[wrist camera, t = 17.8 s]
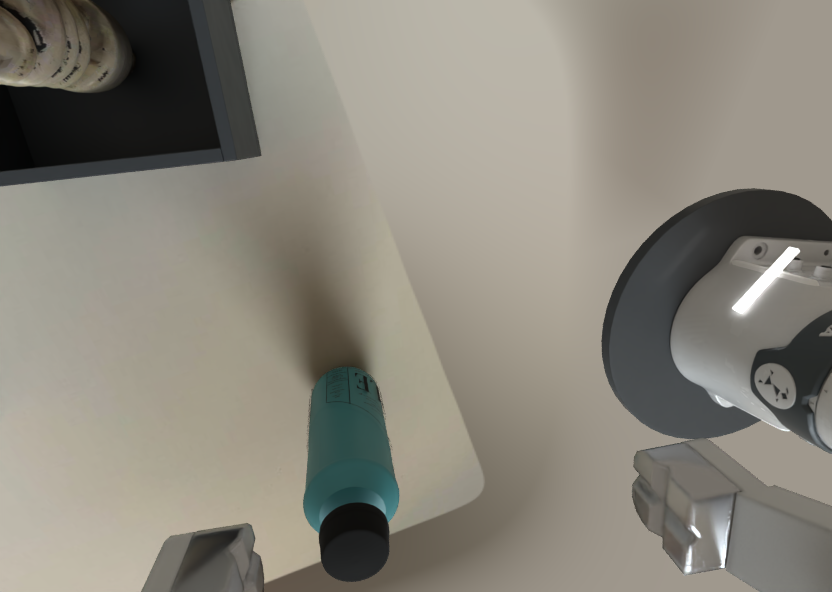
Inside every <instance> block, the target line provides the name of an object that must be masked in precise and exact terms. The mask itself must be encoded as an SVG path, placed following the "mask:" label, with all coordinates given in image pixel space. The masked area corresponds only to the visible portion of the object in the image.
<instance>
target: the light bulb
mask: <svg viewBox="0 0 832 592" xmlns="http://www.w3.org/2000/svg"><path fill="white" fill-rule="evenodd" d="M135 67H136V54H135V52H134V50H133V48H132V46H131V45H130V42H129V39H128V36H127V35H126V33H125V31H124V29H123V28H122V26H121V25H120V24H119V23H118V21H117V20H116V19H115V18H114V17H113V16H112V15H111V14H110V13H108V12H107V11H106V10H104V9H103V8H101V7H100V6H98V5H97V4H96V3H94V2H93V1H91V0H0V84H3V85H9V86H16V87H23V86H33V87H44V86H46V87H50V88H61V89H64V90H68V91H72V92H81V93H100V92H105V91H109V90H111V89H113V88H115V87H117V86H119V85H120V84H121V83H122V82H123V81H124V80H125V79H126V77H127V76H129V75H130V74H131V73H132V72H133V70H134V69H135Z"/></svg>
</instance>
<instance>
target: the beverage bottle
mask: <svg viewBox="0 0 832 592" xmlns="http://www.w3.org/2000/svg"><path fill="white" fill-rule="evenodd" d="M374 380H375V379H374ZM374 380H373V377H372V376H371V375H368V374H367V373H366V372H365V371H363V370H361V369H358V368H355V367H339V368H335V369H333V370H330V371H329V372H327V373H326V374H324V375H323V376H322V377H321V378H320V379H319V380H318V382H317V383H316V385H315V387H314V389H313V392H312V397H311V408H310V409H311V410H310V415H309V418H310V422H309V423H310V425H308V426H309V429H308V430H307V431H308V432H309V441H308V443H307V446H308V448H309V449H308V451H307V452H308V462H307V475H306V489H305V494H304V500H303V508H304V513H305V516H306V519H307V520H308V522H309V524H310V525H311V526H312V527H313V528H314V529H315V530H316V531H317V532H318V533H319V544H320V550H321V561H322V564H323V567H324V569H325V570H326V572H327V573H328V574H329V575H331V576H332V577H334V578H335V579H338V580H341V581H346V582H354V581H355V582H356V581H361V580H364V579H367V578H369V577H371V576H373V575H375V574H376V573H377V572H379V570H381V569H382V567H383V566H384V565H385V563H386V561H387V559H388V555H389V525H388V522H389V521H390V520H391V519H392V517H393V516H394V514H395V512H396V510H397V507H398V503H399V488H398V484H397V481H396V479H395V474H394V469H393V464H392V458H391V451H390V450H391V449H390V446H389V441H390V439H389V437H388V436H387V431H386V426H385V421H384V416H383V414H384V413H383V411H382V405H383V403H381V402H383V401H382V399H381V400H380V395H379V390H380V389H379V390H378V387H377V385H376V383H375V381H374ZM311 391H312V390H311ZM380 392H381V391H380ZM380 394H381V393H380ZM381 398H382V397H381ZM309 403H310V402H309ZM381 404H382V405H381ZM309 405H310V404H309ZM383 408H384V406H383ZM384 412H385V411H384ZM309 418H308V419H309ZM385 419H386V417H385ZM308 426H307V428H308ZM388 439H389V441H388ZM390 444H391V443H390ZM391 447H392V446H391Z"/></svg>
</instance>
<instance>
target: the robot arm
mask: <svg viewBox="0 0 832 592" xmlns="http://www.w3.org/2000/svg"><path fill="white" fill-rule="evenodd" d="M755 248H756V250H755ZM754 250H755V251H754ZM670 347H671V354H672V358H673V360H674V363H675V365H676V367H677V368H678V370H679V371H680V373H681V374H682V375H683V376H684V377H685V378H687V379H688V380H689V381H691V382H693V383H695V384H697V385H699V386H701V387H703V388H704V389H706V391H707V392H708V394H709V395H710V397H711V398H712V400H713V401H714V402H715V403H717V404H719V405H721V406H723V407H732V406H736V407H738V408H740V409H742V410H744V411H746V412H747V413H749V414H751V415H753V416H755V417H757V418H759V419H761V420H763V421H765V422H766V423H768V424H770V425H772V426H774V427H776V428H778V429H781V430H784V431H790V430H791V431H792V432H794V433H796V434H797V435H799V437H800V438H801V439H803V440H805V441H806V442H808V443H809V444H811V445H813V446H817V447H819V448H821V449H822V450H824V451H826V452H828V453H830V454H832V241H817V240H803V239H788V238H773V237H758V236H741V237H739V238H738V239H736V240H735V241H734V242H733V243H732V245H731V246H730V247H729V249H728V250H727V252H726V253H725V255H724V256H723V258H722V259H721V261H720V262H719V263H718V264H717V265H716V266H715V267H714V268H713V269H712V270H711V271H709V272H708V273H707V274H706V275H704V276H703V277H702V278H701V279H700V280H699V281H698V282H697V283H696V284H695V285H694V286H693V287H692V288H691V289H690V291H689V292H688V293H687V295H686V296H685V298H684V299H683V301H682V302H681V304H680V306H679V308H678V310H677V312H676V315H675V318H674V321H673V324H672V329H671V336H670ZM634 468H635V470H636V471H637V472H638V473H639V476H638V477H637V479H636V480H635V481H634V483H633V485H632V486H633V487H632V498H633V502H634V505H635V509H636V511H637V513H638V515H639V517H640V519H641V521H642V522H643V523H644V525H645V526H646V527H647V529H648V530H649V531H651V532H653V533H655V534H657V535H659V536H661V537H662V538H663V549H664V550H665V551H666V553H667V554H668V555H669V557H670V558H671V559H672V560H673V562H674V563H675V564H676V565H677V567H678V568H679V569H680V570H681V572H682V573H683V574H684V575H690V574H696V573H701V572H706V571H712V570H718V569H723V568H726V571H727V572H729V573H731V574H732V575H734V576H736V577H737V578H739V579H740V580H742V581H743V582H745V583H747V584H748V585H750V586H752V587H753V588H755V589H756V590H758V591H760V592H832V506H830V505H827V504H825V503H822V502H819V501H817V500H814V499H811V498H808V497H805V496H803V495H800V494H797V493H794V492H791V491H789V490H786V489H783V488H781V487H778V486H775V485H774V486H769V487H768V486H766V485H765V484H764V483H763V482H761V481H760V480H759V479H758V478H756V477H755V476H754V475H753V474H751V473H750V472H749V471H748V470H747V469H745V468H744V467H743V466H741V465H740V464H739V463H738V462H737V461H735V460H734V459H733V458H731V457H730V456H729V455H728V454H727V453H725V452H724V451H723V450H722V449H720V448H719V447H718V446H717V445H715V444H714V443H713V442H712V441H710V440H708V439H705V438H699V439H694V440H689V441H685V442H681V443H677V444H672V445H666V446H661V447H656V448H651V449H646V450H640V451H637V452H636V454H635V456H634ZM254 542H255V535H254V532H253V529H252V526H251V525H250V524H248V523H245V524H239V525H233V526H226V527H220V528H214V529H208V530H201V531H197V532H192V533H186V534H180V535H174V536H170V537H169V538H168V539H167V540H166V541H165V542H164V543H163V546H162V548H161V550H160V552H159V554H158V556H157V558H156V561H155V563H154V565H153V567H152V569H151V571H150V574H149V576H148V578H147V580H146V582H145V584H144V587H143V589H142V591H141V592H264V573H263V565H262V561H261V557H260V555H258V554H257V553H255V552H254V551H253V547H254Z"/></svg>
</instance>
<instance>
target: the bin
mask: <svg viewBox="0 0 832 592" xmlns="http://www.w3.org/2000/svg"><path fill="white" fill-rule="evenodd" d="M91 1H93V2H94V3H96V4H97V5H98V6H100V7H101V8H103V9H104V10H106V11H107V12H108V13H110V14H111V15H112V16H113V17H114V18H115V19H116V20H117V21H118V23H119V24H120V25H121V26H122V28H123V29H124V31H125V33H126V35H127V36H128V39H129V42H130V45H131V46H132V48H133V50H134V52H135V54H136V67H135V69H134V70H133V72H132V73H131V74H130V75H129V76H127V77H126V79H125V80H124V81H123V82H122V83H121V84H120V85H119V86H117V87H115V88H113V89H111V90H109V91H105V92H100V93H81V92H72V91H68V90H64V89H61V88H50V87H46V86H44V87H33V86H23V87H16V86H9V85H3V84H0V186H8V185H17V184H26V183H35V182H44V181H54V180H63V179H72V178H81V177H90V176H99V175H108V174H117V173H126V172H135V171H144V170H153V169H162V168H171V167H180V166H189V165H198V164H207V163H216V162H224V161H234V160H241V159H246V158H252V157H258V156H261V152H260V147H259V142H258V137H257V132H256V127H255V122H254V117H253V112H252V107H251V102H250V97H249V92H248V87H247V82H246V77H245V72H244V67H243V62H242V57H241V52H240V47H239V42H238V37H237V32H236V27H235V22H234V18H233V13H232V8H231V3H230V0H91Z"/></svg>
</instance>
